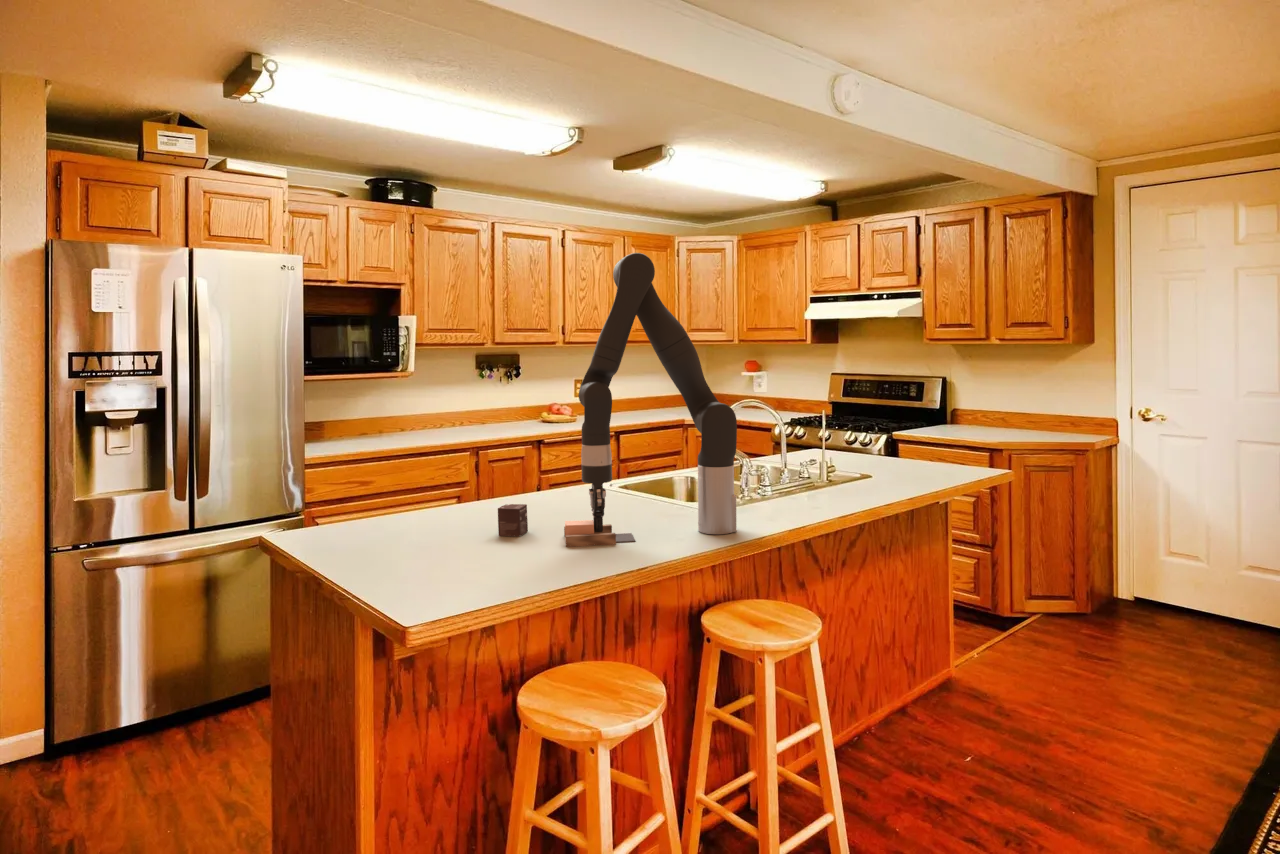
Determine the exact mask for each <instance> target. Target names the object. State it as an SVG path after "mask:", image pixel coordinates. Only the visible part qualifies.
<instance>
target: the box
mask: <svg viewBox="0 0 1280 854" xmlns="http://www.w3.org/2000/svg"><path fill="white" fill-rule="evenodd" d="M527 506H528V504H526V503H525V504H523V503H522V504H521V503H519V504H518V503H517V504H516V503H515V504H514V503H508V504H507V503H506V504H504V505H501V506H499V507H498V508H497V524H498V525H497V527H498V529H497V530H498V531H497V532H498V536H499V537H521V536H523V535H525V534H526V533H528V532H529V531H528V530H529V529H528V528H529V526H528V524H529V523H528V507H527Z"/></svg>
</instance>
